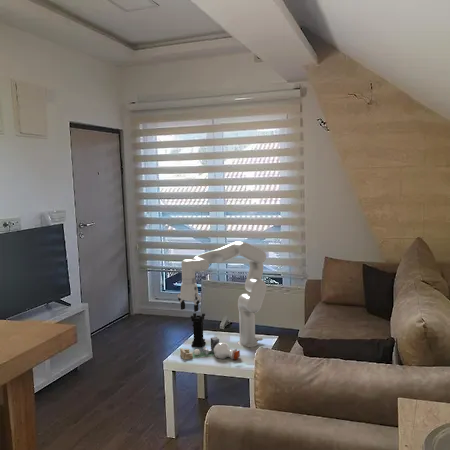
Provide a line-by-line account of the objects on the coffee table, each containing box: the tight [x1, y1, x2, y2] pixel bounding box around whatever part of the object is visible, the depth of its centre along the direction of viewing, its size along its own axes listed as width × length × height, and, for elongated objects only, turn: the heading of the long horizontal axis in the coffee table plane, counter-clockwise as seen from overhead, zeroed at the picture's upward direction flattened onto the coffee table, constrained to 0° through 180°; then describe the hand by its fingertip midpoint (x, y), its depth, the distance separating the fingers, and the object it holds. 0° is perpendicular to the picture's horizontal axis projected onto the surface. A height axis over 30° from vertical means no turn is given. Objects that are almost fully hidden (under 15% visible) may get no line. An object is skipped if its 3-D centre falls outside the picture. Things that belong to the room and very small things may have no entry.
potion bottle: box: [214, 341, 241, 361], centre depth 267 cm, size 9×10×15 cm
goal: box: [179, 347, 194, 361], centre depth 269 cm, size 5×8×4 cm, turn 20°
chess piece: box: [190, 312, 207, 348], centre depth 288 cm, size 8×8×20 cm
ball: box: [193, 348, 201, 355], centre depth 271 cm, size 4×4×4 cm
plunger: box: [202, 336, 220, 355], centre depth 274 cm, size 8×5×8 cm, turn 110°
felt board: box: [179, 351, 215, 361], centre depth 272 cm, size 24×8×1 cm, turn 110°
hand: (189, 310), depth 273 cm, fingers open, 9 cm apart
